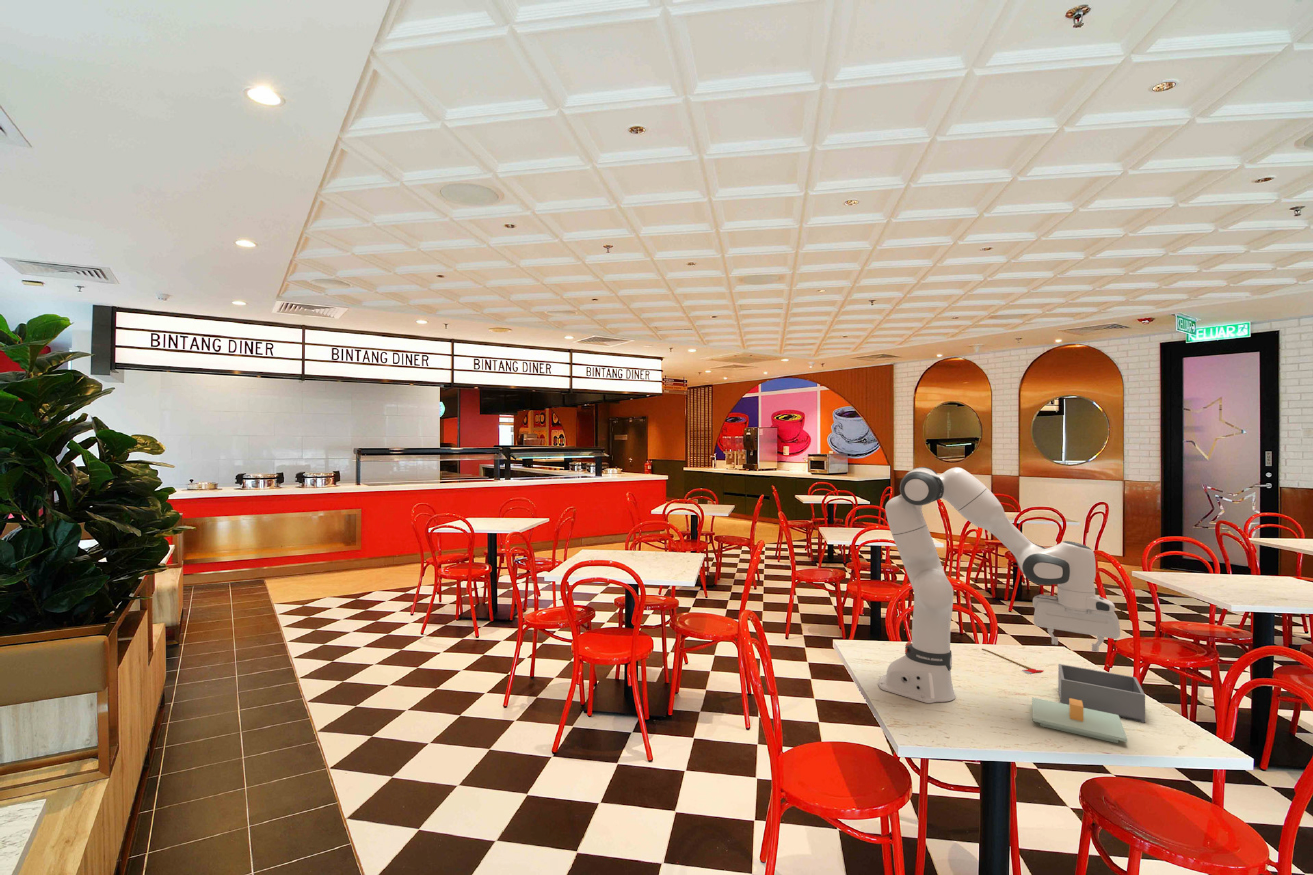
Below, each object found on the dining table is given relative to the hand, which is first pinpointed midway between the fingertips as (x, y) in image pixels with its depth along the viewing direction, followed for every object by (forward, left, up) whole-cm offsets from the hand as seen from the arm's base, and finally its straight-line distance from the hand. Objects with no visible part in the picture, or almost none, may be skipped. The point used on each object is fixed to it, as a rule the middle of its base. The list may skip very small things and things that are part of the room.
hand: (1074, 647), depth 169 cm
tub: (+8, +21, -22) cm, 31 cm away
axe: (-15, +50, -22) cm, 57 cm away
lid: (0, 0, -22) cm, 22 cm away
